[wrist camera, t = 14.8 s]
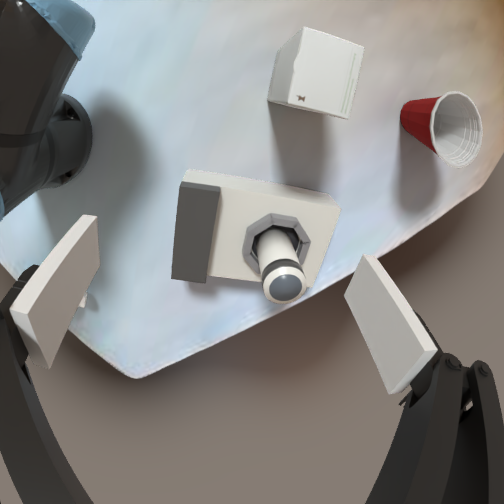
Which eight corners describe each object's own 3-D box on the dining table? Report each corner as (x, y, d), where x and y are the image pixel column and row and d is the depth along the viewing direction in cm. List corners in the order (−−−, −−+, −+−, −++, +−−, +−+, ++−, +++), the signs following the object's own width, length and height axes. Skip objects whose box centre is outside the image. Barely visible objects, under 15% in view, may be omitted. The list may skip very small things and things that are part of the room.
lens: (251, 256, 43) (259, 303, 34) (259, 225, 41) (269, 267, 32) (285, 260, 44) (300, 306, 35) (295, 230, 41) (313, 272, 33)
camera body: (178, 250, 48) (171, 278, 42) (187, 168, 42) (179, 186, 35) (303, 266, 52) (315, 295, 46) (328, 193, 45) (346, 214, 39)
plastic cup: (444, 102, 37) (492, 115, 27) (426, 156, 43) (470, 179, 32) (397, 73, 35) (445, 76, 25) (378, 132, 40) (421, 150, 30)
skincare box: (308, 111, 38) (350, 125, 25) (263, 100, 37) (283, 107, 24) (320, 58, 34) (369, 47, 21) (275, 46, 33) (303, 24, 20)
